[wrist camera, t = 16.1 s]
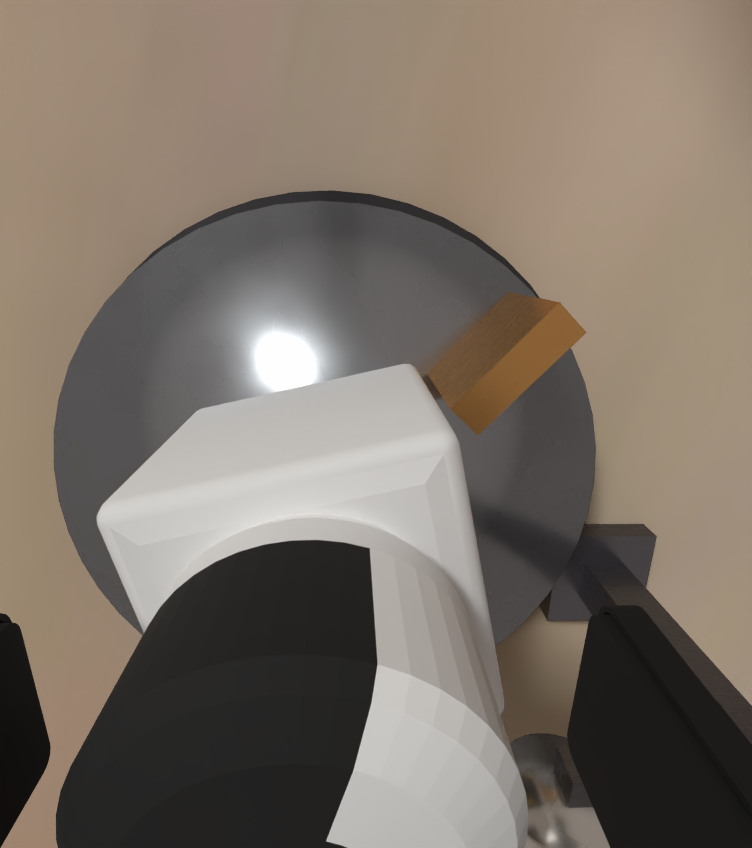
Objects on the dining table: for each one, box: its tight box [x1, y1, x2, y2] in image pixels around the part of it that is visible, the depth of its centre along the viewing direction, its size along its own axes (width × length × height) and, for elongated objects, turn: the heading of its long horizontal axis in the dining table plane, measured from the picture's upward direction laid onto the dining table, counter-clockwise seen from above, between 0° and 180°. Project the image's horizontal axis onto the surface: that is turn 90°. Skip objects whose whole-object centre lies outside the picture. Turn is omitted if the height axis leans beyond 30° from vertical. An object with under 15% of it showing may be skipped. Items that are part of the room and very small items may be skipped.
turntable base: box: [126, 191, 539, 298], centre depth 20 cm, size 19×19×1 cm
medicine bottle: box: [56, 364, 529, 848], centre depth 12 cm, size 7×7×12 cm
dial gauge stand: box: [510, 524, 752, 848], centre depth 17 cm, size 4×9×11 cm, turn 89°
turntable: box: [54, 201, 596, 646], centre depth 17 cm, size 18×18×6 cm
